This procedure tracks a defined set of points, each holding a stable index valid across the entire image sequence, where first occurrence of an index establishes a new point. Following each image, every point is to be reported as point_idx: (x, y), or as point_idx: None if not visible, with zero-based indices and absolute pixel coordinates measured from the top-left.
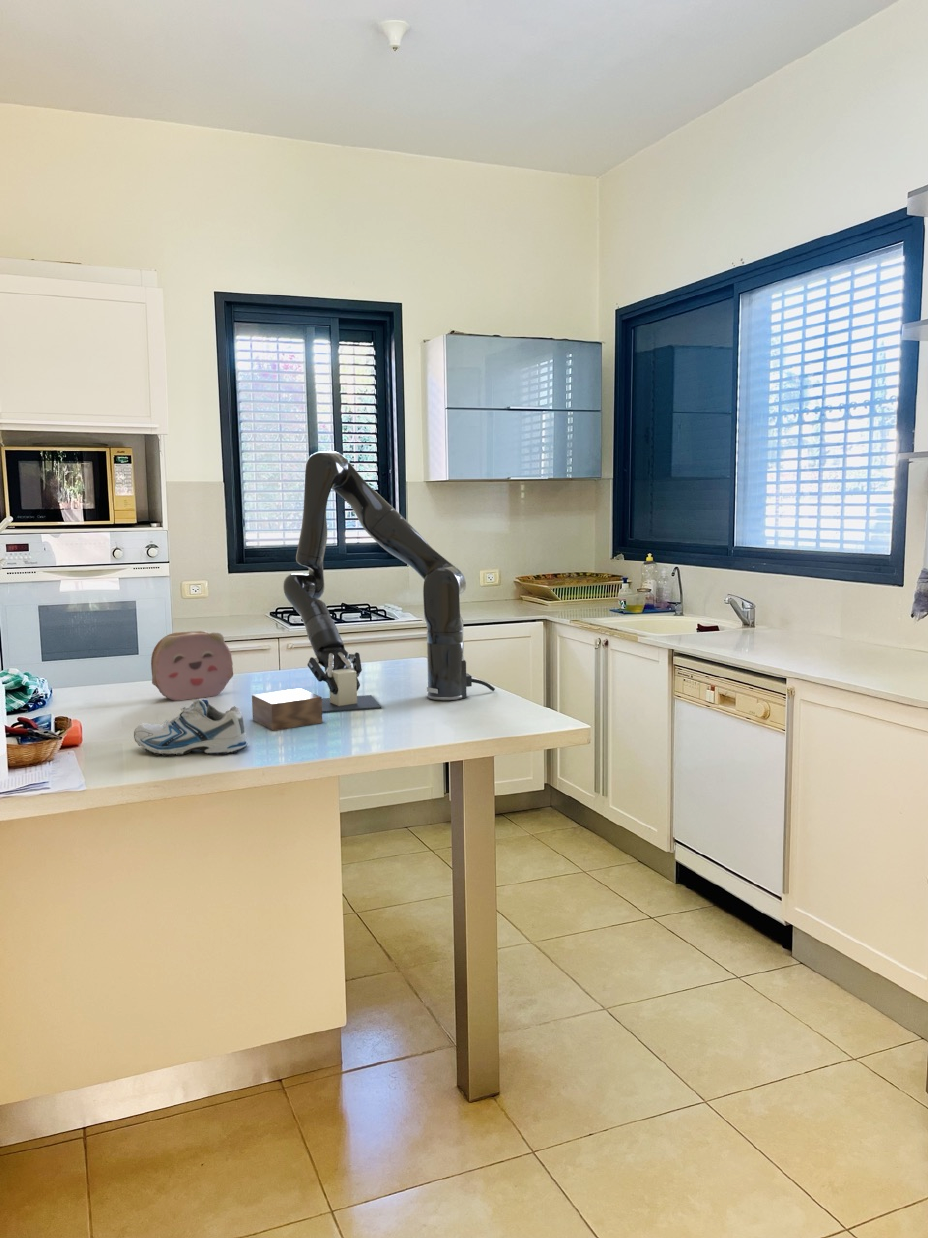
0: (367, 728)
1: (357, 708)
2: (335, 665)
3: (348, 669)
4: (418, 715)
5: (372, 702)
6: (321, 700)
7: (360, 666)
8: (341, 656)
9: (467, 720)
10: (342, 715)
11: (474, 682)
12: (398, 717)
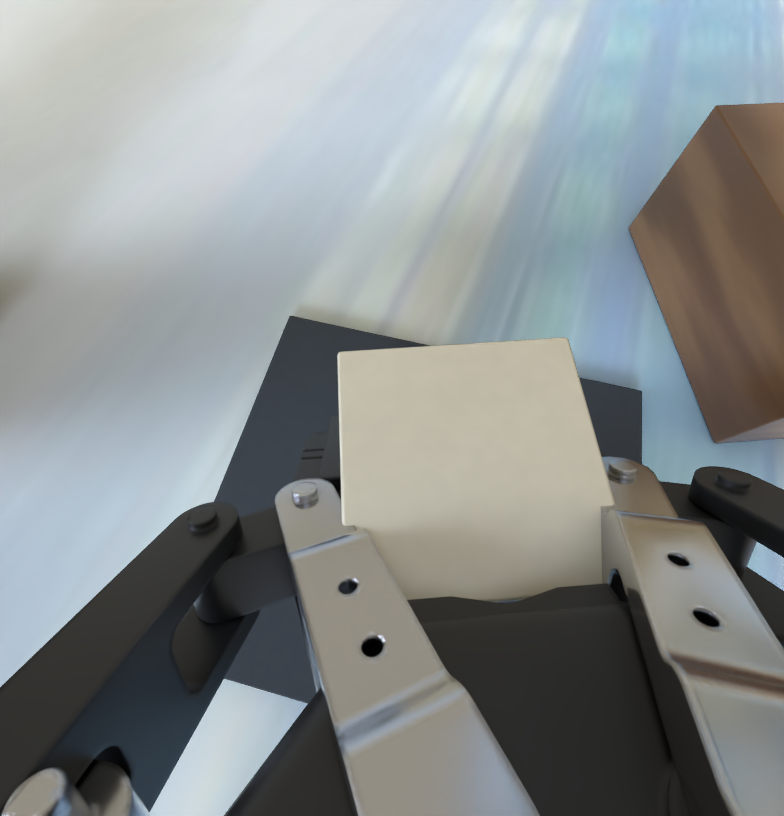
0: (484, 108)
1: (411, 343)
2: (562, 605)
3: (362, 522)
4: (232, 159)
5: (274, 426)
6: (702, 124)
7: (147, 559)
8: (446, 721)
9: (146, 53)
10: (512, 296)
11: None
12: (314, 169)
